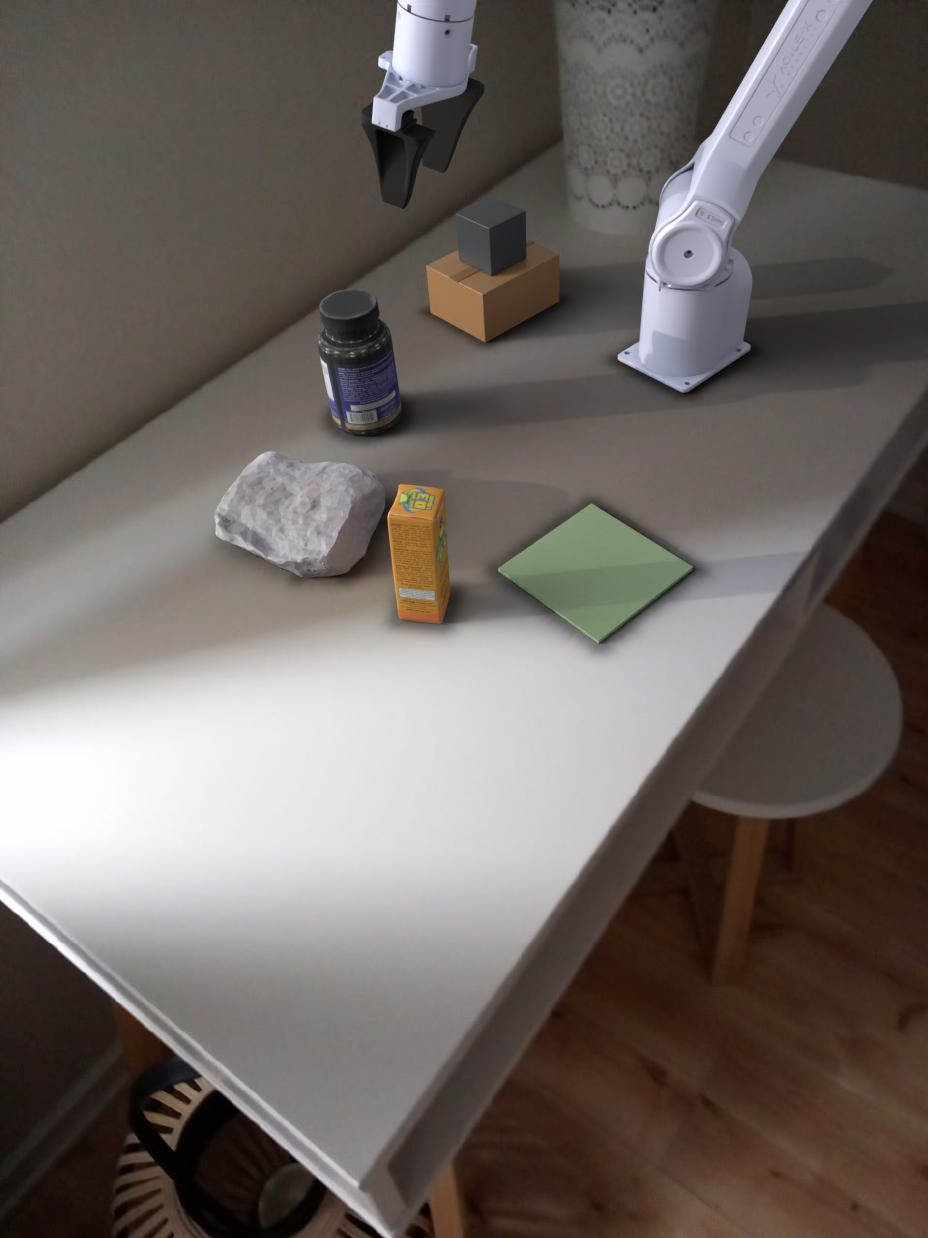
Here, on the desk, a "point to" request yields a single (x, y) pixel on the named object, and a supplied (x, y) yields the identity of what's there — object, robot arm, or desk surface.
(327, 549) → the stone block
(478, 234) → the small box
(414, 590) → the supplement box
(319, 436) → the desk surface
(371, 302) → the pill bottle
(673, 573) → the mat
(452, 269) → the storage box
